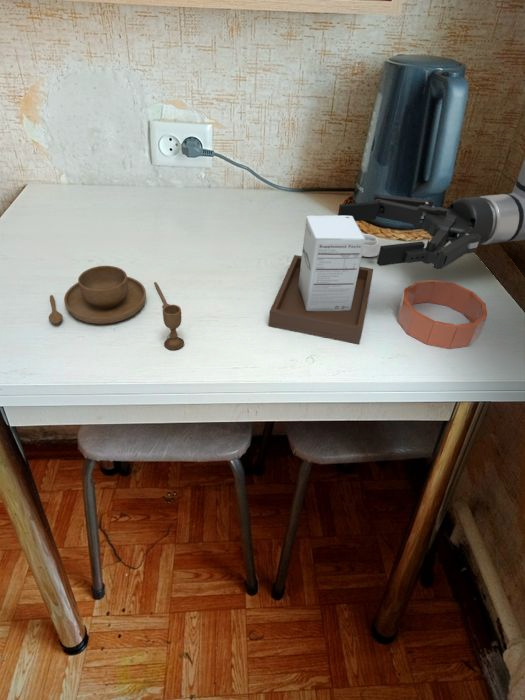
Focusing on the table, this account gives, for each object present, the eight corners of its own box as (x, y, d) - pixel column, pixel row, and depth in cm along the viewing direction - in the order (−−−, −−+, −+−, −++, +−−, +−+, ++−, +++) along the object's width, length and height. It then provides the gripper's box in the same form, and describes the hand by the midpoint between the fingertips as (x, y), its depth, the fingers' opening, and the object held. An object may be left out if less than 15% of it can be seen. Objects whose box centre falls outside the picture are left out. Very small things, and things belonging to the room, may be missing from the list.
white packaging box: (297, 286, 83) (305, 214, 75) (341, 286, 84) (354, 214, 76) (304, 312, 78) (314, 237, 70) (351, 311, 79) (366, 237, 71)
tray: (359, 344, 74) (362, 329, 72) (268, 326, 76) (269, 311, 74) (370, 282, 87) (373, 268, 85) (292, 268, 89) (294, 254, 87)
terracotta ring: (480, 355, 73) (490, 333, 71) (395, 338, 75) (402, 316, 73) (475, 309, 83) (483, 288, 80) (399, 295, 85) (405, 274, 82)
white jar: (382, 259, 94) (376, 246, 97) (385, 244, 92) (379, 231, 96) (355, 258, 93) (350, 245, 97) (358, 244, 91) (353, 231, 95)
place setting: (155, 275, 85) (152, 243, 81) (190, 347, 71) (189, 312, 67) (44, 293, 79) (35, 260, 75) (59, 375, 65) (49, 339, 62)
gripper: (522, 282, 74) (394, 301, 68) (430, 210, 92) (322, 220, 86) (544, 235, 69) (407, 251, 63) (441, 168, 87) (328, 176, 81)
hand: (358, 233), depth 75 cm, fingers open, 13 cm apart
